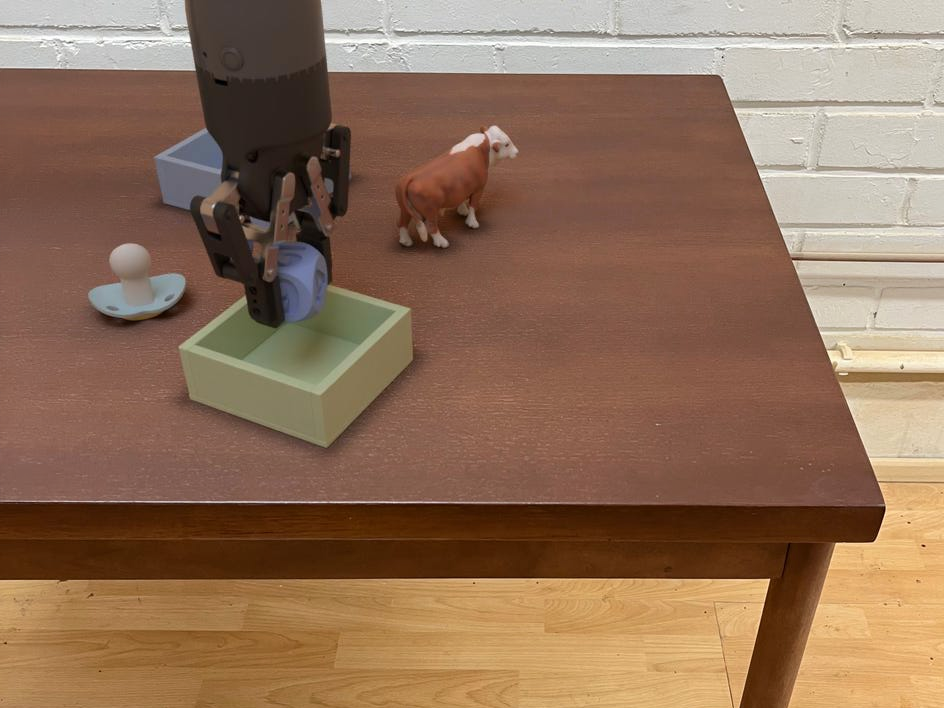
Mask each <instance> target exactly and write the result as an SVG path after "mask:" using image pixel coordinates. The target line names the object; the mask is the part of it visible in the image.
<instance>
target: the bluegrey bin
mask: <svg viewBox="0 0 944 708" xmlns="http://www.w3.org/2000/svg"><path fill="white" fill-rule="evenodd" d="M153 160H154V164H155V165H154V166H155V169H156V174H157V178H158V179H157V180H158V183H159V188H160V193H161V196H162V201H163V204H166V205H170V206H172V207H176V208H179V209H184V210H187V211H190V203H191V200H192V199H193V197H195V196H197V195H199V196H203V197H206V198H208V197H210V196H211V195H212V194H213V192H214V191H215V190H216V189H217V188H218V187H219V186H220V185H221V184H222V182H221V170H222V162H223V155H222V151H221V149H220V147H219V146H218V144H217V143H216V141H215V140H214V139H213V137H212V136H211V135H210V134H209V132H208V131H207V128H206V127H205V128H202V129H201V130H199V131H197V132H195V133H193V134H192V135H190V136H189V137H186V138H185V139H183V140H182V141H179V142H177V143H176V144H174V145H172V146H170V147H169V148H167V149H166V150H164V151H162V152H160V153H158V154H157V155H155V156H154V157H153ZM351 173H352V171H351V167H350V168H349V181H350V180H352V174H351ZM325 186H326V189H327V191H328V194H329V195H331V194H333V181H332V180H331V179H327V178H325ZM250 220H251V222H252V223H253V224H254V225H257V226H261V227H264V228H268V229H269V226H270V222H265V221H262V220H258V219H255V218H252V217H251V216H250ZM292 222H293V220H292V217H291V215H290V216H289V218H288V225H289V224H291V223H292Z"/></svg>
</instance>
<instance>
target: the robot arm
mask: <svg viewBox="0 0 944 708" xmlns="http://www.w3.org/2000/svg"><path fill="white" fill-rule="evenodd" d="M184 9H185V10H184V11H185V17H186V24H187V29H188V35H189V36H188V37H189V41H190V46H191V51H192V57H193V63H194V64H193V65H194V69H195V74H196V75H195V76H196V80H197V86H198V91H199V96H200V97H199V98H200V104H201V108H202V114H203V120H204V125H205V128H207V131H208V132H209V134H210V135H211V136H212V137H213V139H214V140H215V141H216V143H217V144H218V146H219V147H220V149H221V151H222V155H223V162H222V170H221V182H222V184H221V185H220V186H219V187H218V188H217V189H216V190H215V191H214V192H213V194H212V195H211V196H210V197H208V198H206V197H203V196H199V195H197V196H195V197H193V199H192V200H191V203H190V210H189V211H190V213H191V216H192V219H193V221H194V223H195V226H196V229H197V231H198V234H199V236H200V239H201V240H202V243H203V246H204V248H205V251H206V254H207V256H208V258H209V261H210V264H211V266H212V269H213V271H214V274H215V275H216V277H218V278H220V279H224V280H230V281H233V282H236V283H239V284H242V285H243V287H244V294H245V295H246V300H247V306H248V312H249V315H250V317H251V318H252V319H253V320H255V321H256V322H257V323H259V324H262V325H265V326H269V327H272V328H278V327H279V326H280V325H281V324H283V323H284V322H285V316H284V309H283V302H282V294H281V287H280V280H279V276H276V273H277V263H278V252H279V246H280V245H282V244H284V243H285V242H287V238H288V228H289V226H288V225H289V224H288V218H289V216H290V215H291V217H292V220H293V221H292V222H293V224H294V226H295V228H296V229H297V230H300V231H298V232H297V233H295V241H296V242H302V243H306V244H309V245H311V246H312V247H314V248H315V249H316V250H318V251H319V252H320V253H321V254H322V256H323V257H324V259H325V261H326V266H327V286H328V285H331V283H333V258H332V248H331V238H330V237H331V236H332V235H333V233H334V230H335V219H336V218H337V217H340V218H343V217H345V215H346V214H347V212H348V209H349V189H350V180H349V168H350V169H351V146H352V145H351V144H352V143H351V142H352V132H351V129H350V127H349V126H347V125H346V126H345V125H341V124H336V123H332V121H333V120H332V119H333V116H332V115H333V113H332V103H331V102H332V101H331V92H330V91H331V90H330V82H329V81H330V79H329V70H328V69H329V68H328V58H327V47H326V38H325V28H324V27H325V26H324V17H323V16H324V15H323V6H322V0H184ZM325 178H327V179H331V180H332V181H333V192H332V195H331V194H328V191H327V189H326V186H325ZM250 216H251V217H252V218H255V219H258V220H262V221H265V222H270V226H269V229H268V228H264V227H261V226H257V225H254V224H253V223H252V222H251V220H250ZM255 242H256V243H258V244H259V245H260V248H261V250H260V252H261V259H258V258H257V257H254V256H253V255H254V254H253V253H254V243H255Z"/></svg>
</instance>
